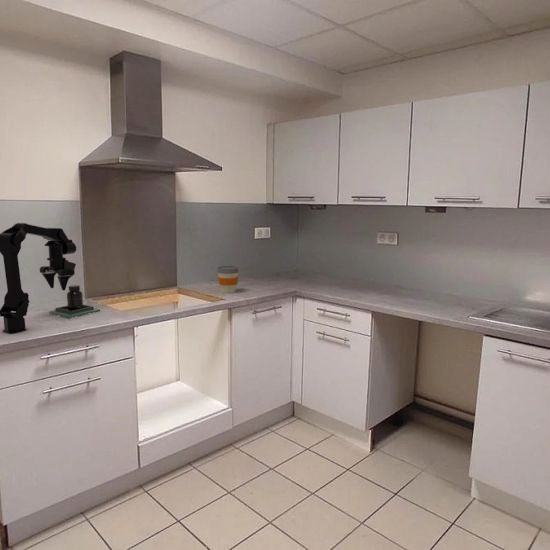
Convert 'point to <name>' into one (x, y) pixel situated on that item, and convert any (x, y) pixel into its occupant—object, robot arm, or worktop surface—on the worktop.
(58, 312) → the dock board
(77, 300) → the supplement bottle
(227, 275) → the reusable coffee cup
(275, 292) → the worktop surface
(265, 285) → the worktop surface
